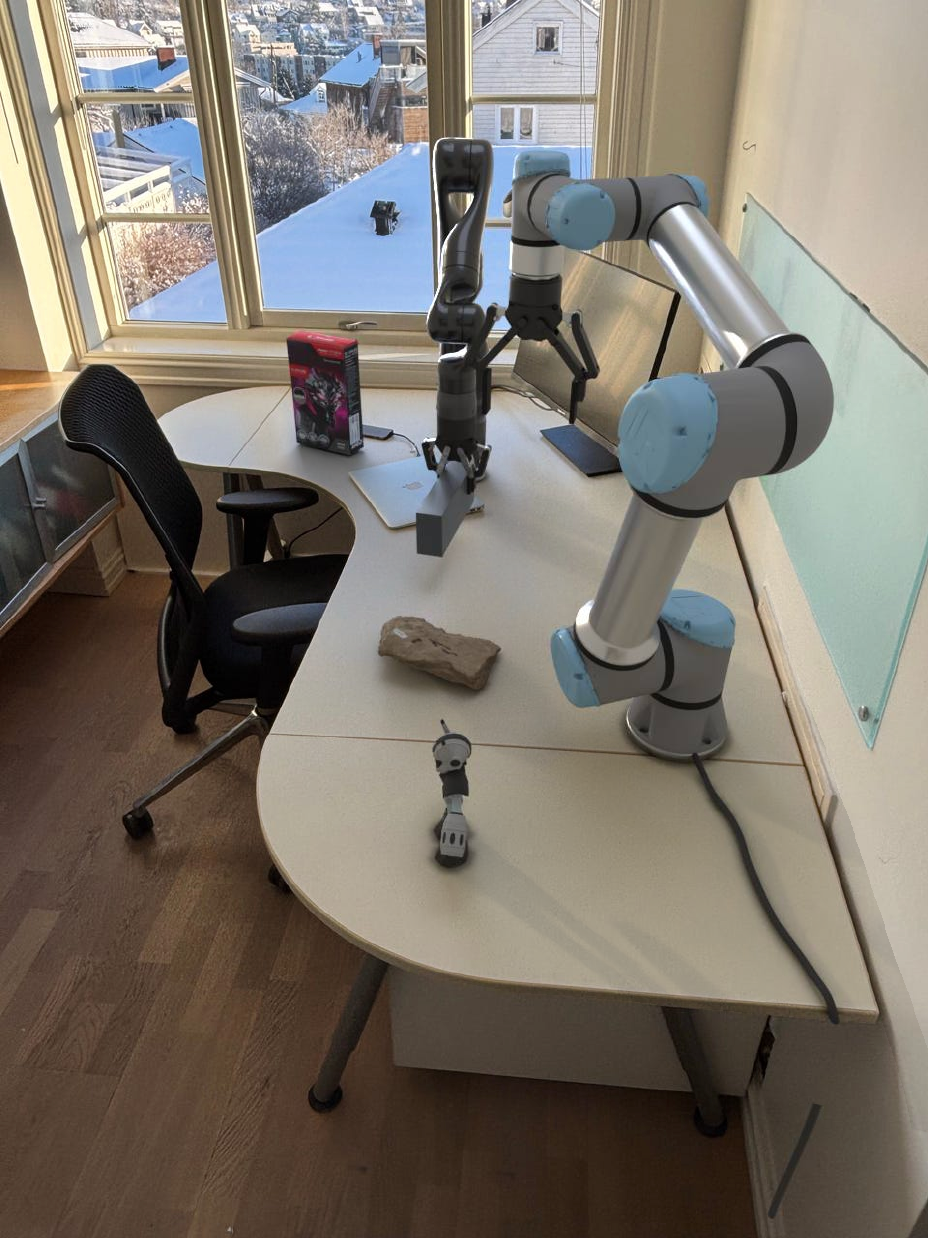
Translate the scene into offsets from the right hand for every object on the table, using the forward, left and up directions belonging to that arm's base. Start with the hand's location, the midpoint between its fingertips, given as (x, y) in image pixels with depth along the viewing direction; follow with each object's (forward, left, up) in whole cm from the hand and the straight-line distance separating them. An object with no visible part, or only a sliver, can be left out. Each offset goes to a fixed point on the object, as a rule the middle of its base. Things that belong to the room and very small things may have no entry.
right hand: (529, 416), depth 142 cm
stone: (-13, +12, -41) cm, 44 cm away
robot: (-51, -2, -41) cm, 65 cm away
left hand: (+27, +19, -28) cm, 43 cm away
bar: (+20, +19, -32) cm, 43 cm away
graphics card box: (+68, +64, -41) cm, 102 cm away
